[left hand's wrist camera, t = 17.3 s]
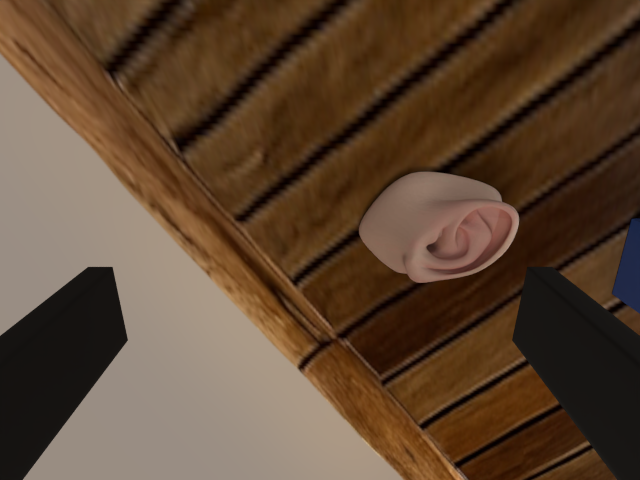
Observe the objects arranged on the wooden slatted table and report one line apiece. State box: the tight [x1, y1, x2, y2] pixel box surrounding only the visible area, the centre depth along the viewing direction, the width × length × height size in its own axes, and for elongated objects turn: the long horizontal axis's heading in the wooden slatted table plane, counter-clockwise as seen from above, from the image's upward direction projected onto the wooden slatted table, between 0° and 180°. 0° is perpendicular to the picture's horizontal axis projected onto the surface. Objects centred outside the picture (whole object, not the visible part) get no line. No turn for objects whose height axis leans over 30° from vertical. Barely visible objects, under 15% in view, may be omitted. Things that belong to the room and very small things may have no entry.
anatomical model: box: [359, 172, 519, 283], centre depth 38 cm, size 13×4×12 cm
